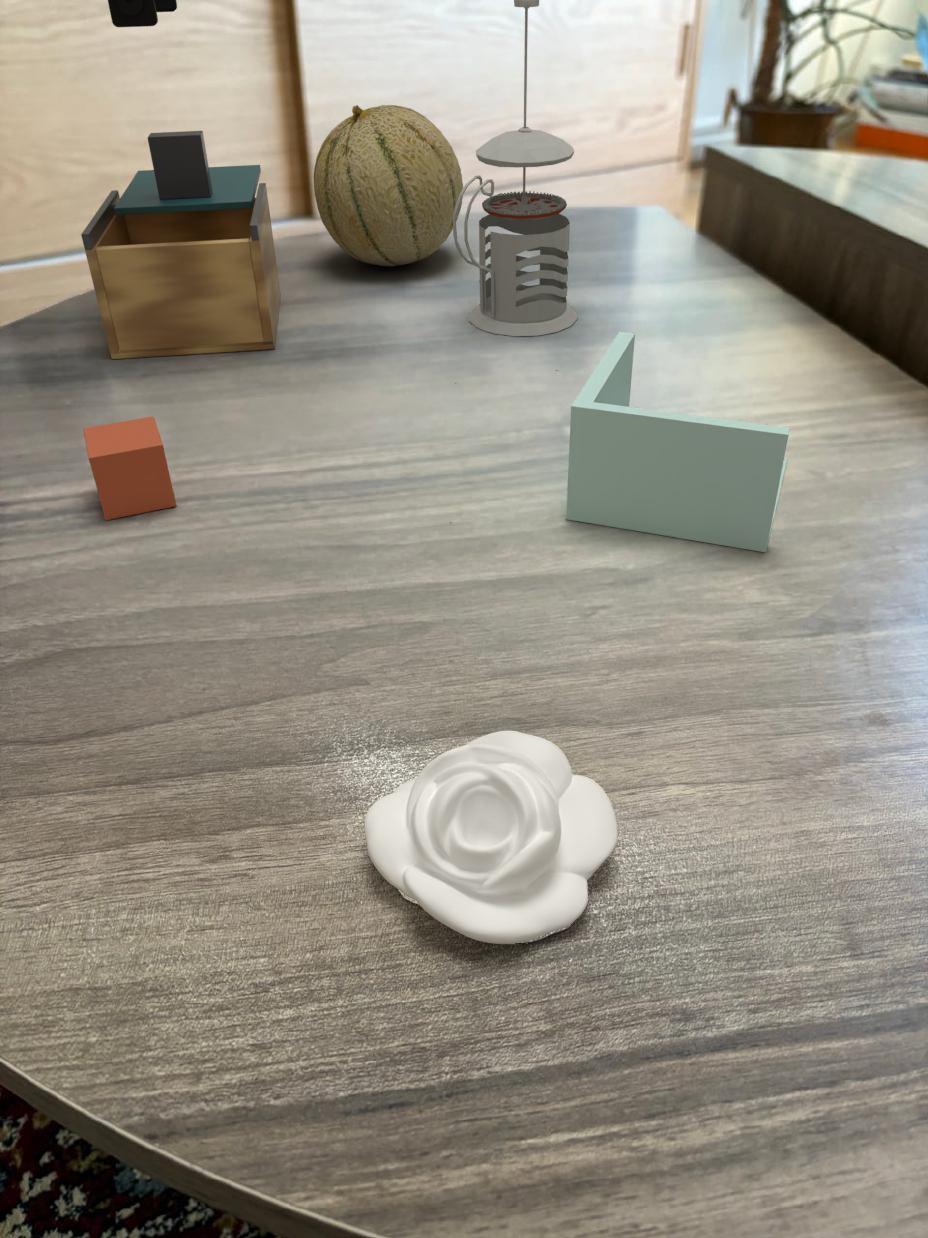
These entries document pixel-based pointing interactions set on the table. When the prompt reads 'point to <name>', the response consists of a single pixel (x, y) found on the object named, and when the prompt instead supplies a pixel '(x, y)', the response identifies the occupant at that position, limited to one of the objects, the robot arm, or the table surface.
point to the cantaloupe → (387, 185)
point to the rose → (495, 838)
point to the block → (129, 467)
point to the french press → (521, 236)
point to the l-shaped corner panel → (669, 465)
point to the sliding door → (187, 179)
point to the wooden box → (185, 279)
